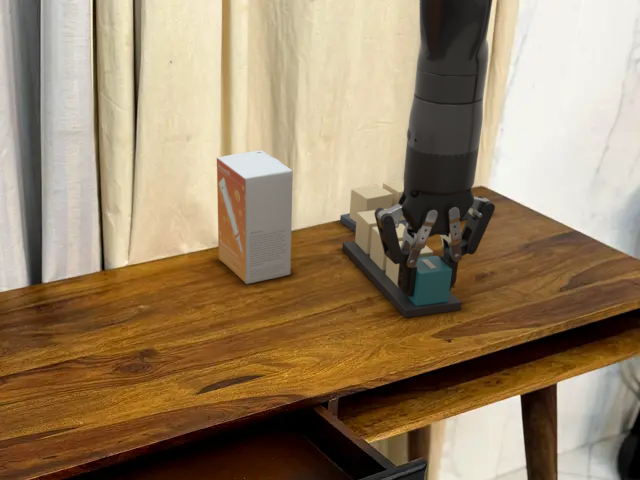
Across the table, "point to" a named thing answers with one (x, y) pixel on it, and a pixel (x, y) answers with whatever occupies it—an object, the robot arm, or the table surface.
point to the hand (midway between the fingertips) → (425, 290)
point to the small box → (254, 215)
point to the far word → (375, 201)
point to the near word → (388, 267)
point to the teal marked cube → (431, 281)
